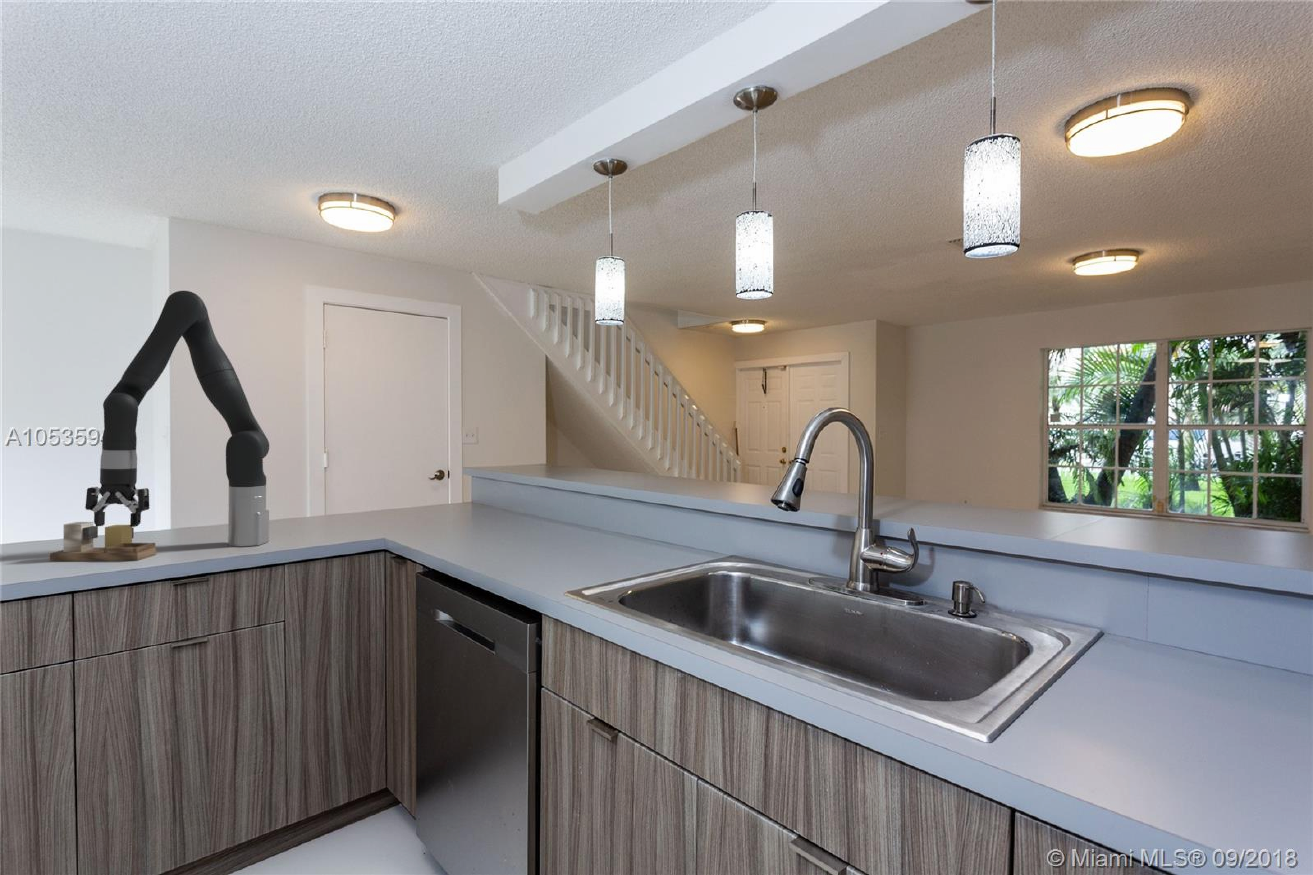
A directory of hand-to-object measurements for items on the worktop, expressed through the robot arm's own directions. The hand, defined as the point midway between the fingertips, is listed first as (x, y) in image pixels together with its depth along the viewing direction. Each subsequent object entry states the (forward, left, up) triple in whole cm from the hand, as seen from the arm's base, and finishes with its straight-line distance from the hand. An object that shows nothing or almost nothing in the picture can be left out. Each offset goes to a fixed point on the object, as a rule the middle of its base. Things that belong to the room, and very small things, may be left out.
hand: (117, 526), depth 167 cm
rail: (-3, +8, -7) cm, 11 cm away
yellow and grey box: (-1, 0, -7) cm, 7 cm away
